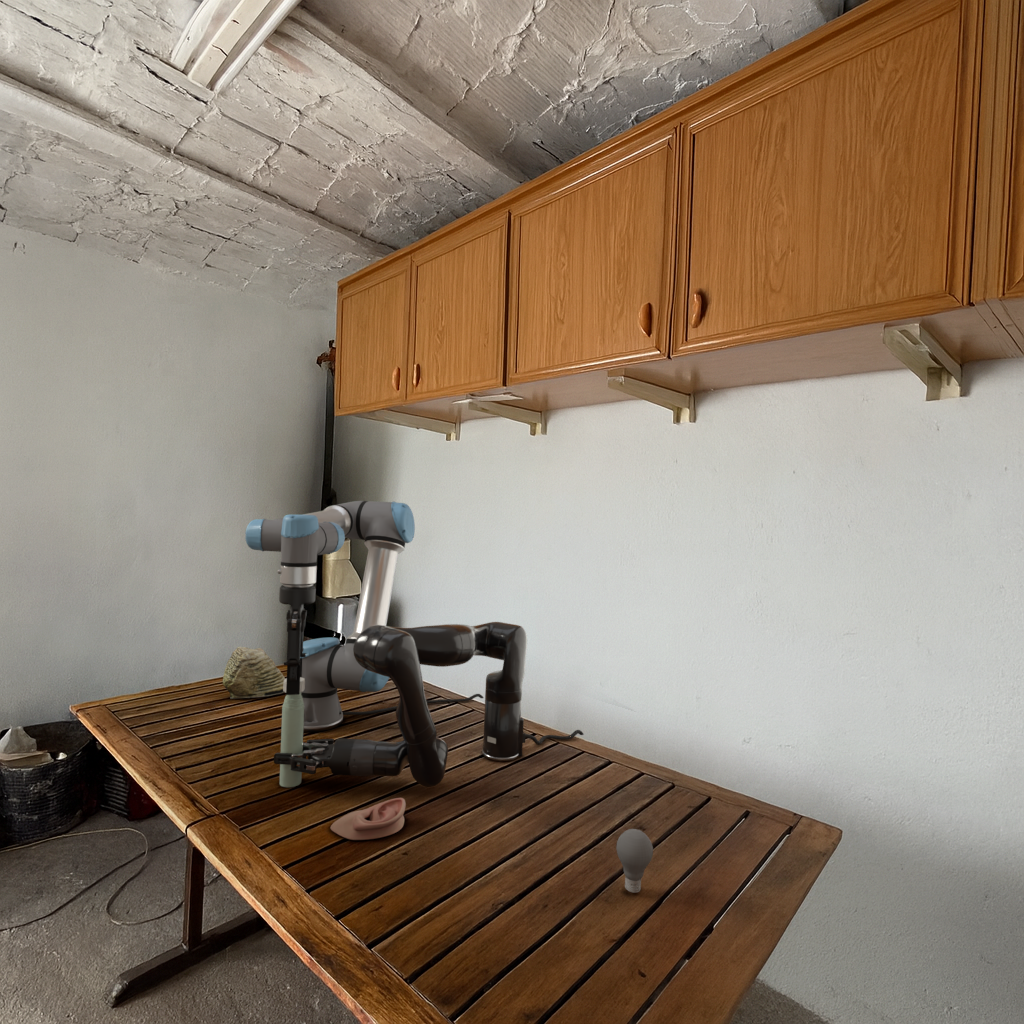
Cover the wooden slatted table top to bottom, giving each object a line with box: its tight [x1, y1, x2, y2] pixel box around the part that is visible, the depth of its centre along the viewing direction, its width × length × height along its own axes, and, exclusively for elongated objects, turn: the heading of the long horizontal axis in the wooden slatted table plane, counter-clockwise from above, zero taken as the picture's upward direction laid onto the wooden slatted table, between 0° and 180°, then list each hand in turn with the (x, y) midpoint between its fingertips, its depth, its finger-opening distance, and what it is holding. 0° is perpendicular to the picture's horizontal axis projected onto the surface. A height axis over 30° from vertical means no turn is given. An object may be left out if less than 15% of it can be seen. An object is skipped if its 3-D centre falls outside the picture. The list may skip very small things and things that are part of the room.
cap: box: [283, 677, 305, 694], centre depth 139 cm, size 4×4×2 cm
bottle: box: [279, 692, 304, 788], centre depth 139 cm, size 5×5×22 cm
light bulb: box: [615, 828, 654, 894], centre depth 106 cm, size 6×6×10 cm
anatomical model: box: [330, 797, 407, 841], centre depth 123 cm, size 13×4×12 cm
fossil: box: [222, 646, 286, 699], centre depth 198 cm, size 9×18×15 cm, turn 132°
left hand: (293, 690), depth 139 cm, fingers closed on cap, 4 cm apart
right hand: (279, 753), depth 140 cm, fingers closed on bottle, 4 cm apart
